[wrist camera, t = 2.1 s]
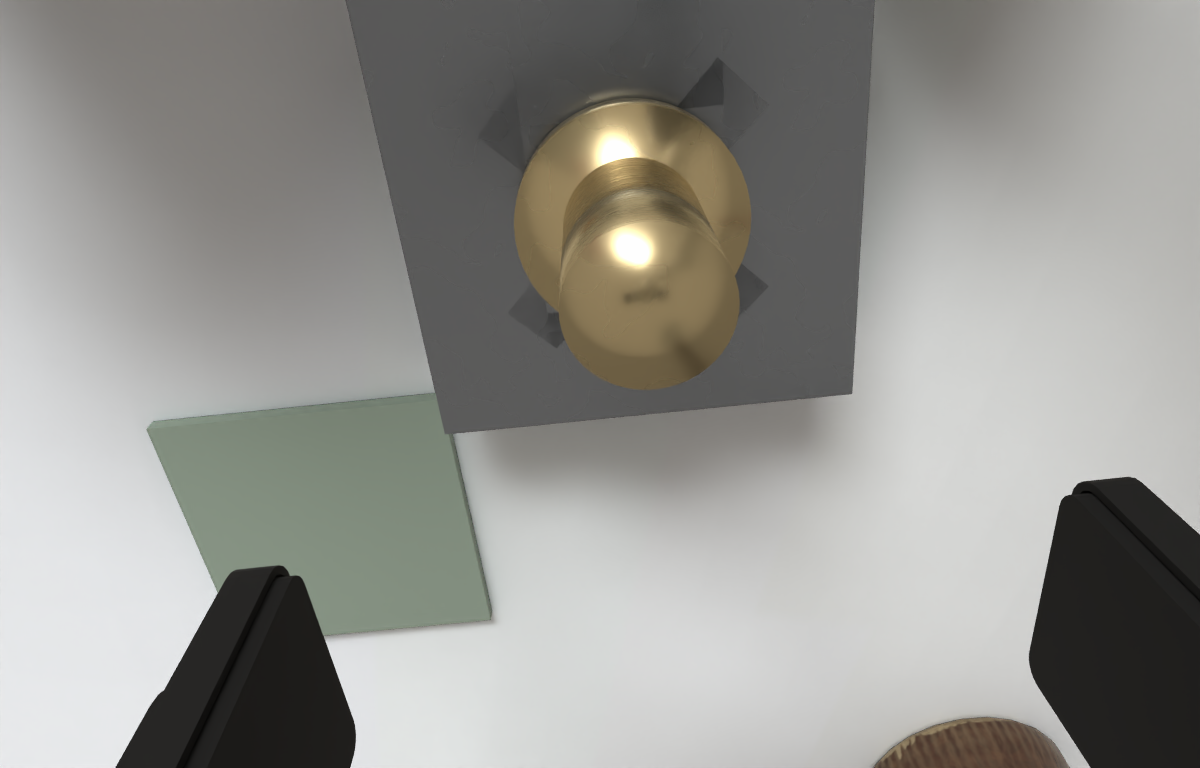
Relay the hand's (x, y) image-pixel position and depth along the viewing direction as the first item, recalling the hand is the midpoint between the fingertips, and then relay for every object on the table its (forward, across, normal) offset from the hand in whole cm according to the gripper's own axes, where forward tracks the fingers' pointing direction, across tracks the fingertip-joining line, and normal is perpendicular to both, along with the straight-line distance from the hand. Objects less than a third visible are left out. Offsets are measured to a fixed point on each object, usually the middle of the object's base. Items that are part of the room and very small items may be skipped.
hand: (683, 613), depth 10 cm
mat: (+22, +13, +14) cm, 29 cm away
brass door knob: (+21, -1, 0) cm, 21 cm away
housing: (+21, -1, 0) cm, 21 cm away
